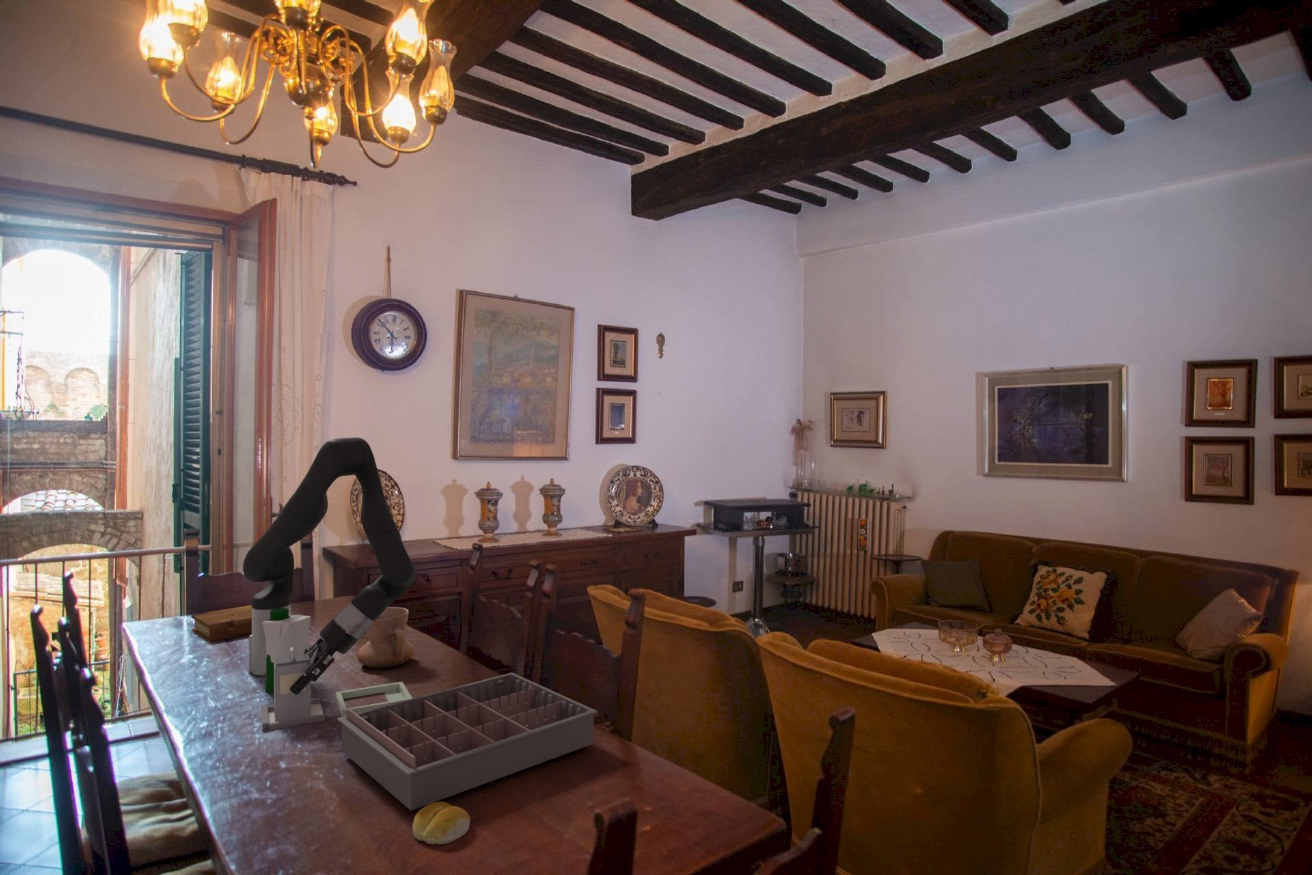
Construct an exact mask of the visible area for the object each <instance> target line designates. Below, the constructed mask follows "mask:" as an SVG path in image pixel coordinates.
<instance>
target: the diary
mask: <svg viewBox="0 0 1312 875" xmlns="http://www.w3.org/2000/svg"><path fill="white" fill-rule="evenodd" d="M190 617H191V618H192V619H193V620H194V628H192V629H191V632H193V633H195V634H196V635H197V636H199V637H200V638H201V639H203V640H205V641H206V642H208V641H209V642H208V643H213V641H215V642H219V640H220V641H225V640H230V639H235V638H242V637H247V636H250V635H252V604H250V605H245V606H239V607H238V606H237V607H232V608H231V607H230V608H225V609H224V608H223V609H220V610H219V609H218V610H212V611H205V612H200V613H193V614H191V616H190Z"/></svg>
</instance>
